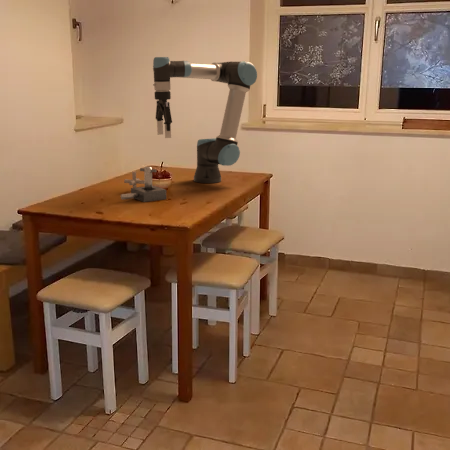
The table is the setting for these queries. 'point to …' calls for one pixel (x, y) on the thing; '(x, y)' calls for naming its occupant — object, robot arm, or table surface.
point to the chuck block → (146, 194)
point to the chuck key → (148, 177)
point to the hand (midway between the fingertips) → (164, 136)
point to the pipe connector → (134, 180)
